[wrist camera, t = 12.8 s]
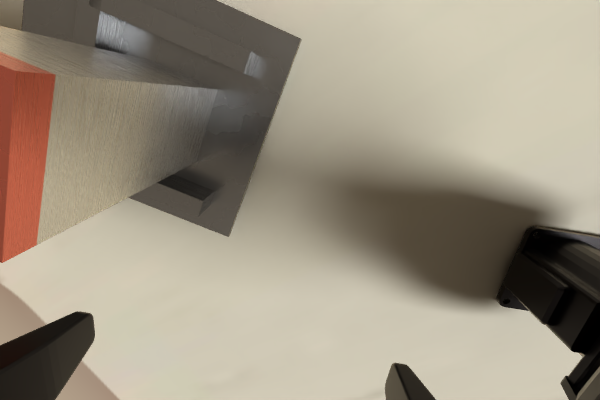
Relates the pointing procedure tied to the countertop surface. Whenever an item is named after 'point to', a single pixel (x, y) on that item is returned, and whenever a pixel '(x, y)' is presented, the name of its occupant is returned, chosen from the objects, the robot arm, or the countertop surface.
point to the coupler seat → (197, 65)
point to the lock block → (86, 132)
